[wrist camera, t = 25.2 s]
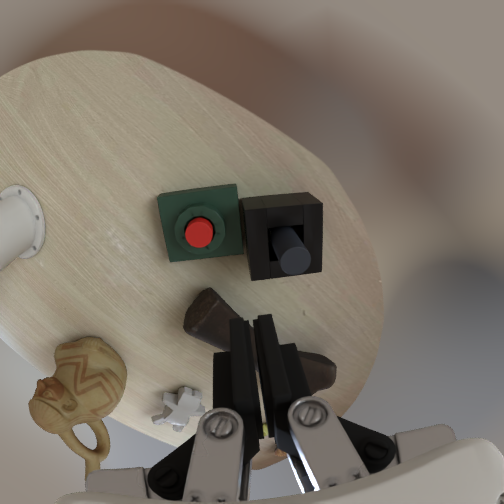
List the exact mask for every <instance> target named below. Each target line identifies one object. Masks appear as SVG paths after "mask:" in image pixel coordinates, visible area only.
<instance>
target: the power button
mask: <svg viewBox="0 0 504 504" xmlns="http://www.w3.org/2000/svg"><path fill="white" fill-rule="evenodd" d="M212 236H213V227H212V224H211V223H210V222H209V221H208V220H207V219H204V218H195V219H193V220H191V221H190V222H189V224H188V226H187V229H186V232H185V237H186V240H187V242H188V243H189V244H190V245H192V246H194V247H197V248H201V247H205V246H207V245H208V244H209V243H210V242H211V240H212Z"/></svg>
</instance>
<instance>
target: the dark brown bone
mask: <svg viewBox="0 0 504 504" xmlns="http://www.w3.org/2000/svg"><path fill="white" fill-rule="evenodd" d="M233 318H241V317H240V316H239V315H238V314H237V313H236V312H235V311H234V310H233V309H232V308H231V307H230V306H229V305H228V304H227V303H226V302H225V301H224V300H223V299H222V298H221V297H220V296H219V295H218V294H217V292H215V291H214V290H213V289H212V288H211V287H209V288H207V289H205V290H203V291H202V292H201V293H200V294H199V295H198V296H197V298H196V299H195V300H194V301H193V303H192V304H191V305H190V307H189V308H188V310H187V312H186V314H185V319H184V325H183V328H184V330H185V332H186V333H187V334H189V335H191V336H193V337H195V338H197V339H200V340H202V341H204V342H206V343H209V344H211V345H213V346H215V347H218V348H219V349H222V350H224V351H226V352H228V351H230V328H229V319H233ZM243 321H244V320H243ZM249 328H250V335H251V343H252V350H253V357H254V364H255V370H256V371H257V372H259V371H258V363H257V354H256V345H255V335H254V328H253V327H251V326H250V325H249ZM279 345H280V344H279ZM298 354H299V357H300V360H301V363H302V366H303V370H304V373H305V376H306V379H307V382H308V386H309V389H310V392H311V395H313V394H314V393H316V392H317V391H319V390H323V389H327V388H330V387H331V386H332V385H333V384H334V382H335V379H336V368H337V367H336V365H335V363H333V362H332V361H331V360H329V359H328V358H327V357H325V356H323V355H320V354H315V353H307V352H301V351H298Z"/></svg>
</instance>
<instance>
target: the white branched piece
mask: <svg viewBox="0 0 504 504" xmlns="http://www.w3.org/2000/svg"><path fill="white" fill-rule="evenodd" d="M201 399H202V392H199V391H196V390H194V391H192V389H191V388H188V387H184V388H182V387H181V388H179V390H178V394H172V393H166V392H164V393H163V396H162V402H164V403H165V404H166V406H165V408H164V411H163V414H160V415H156V416H153V417H151V418H152V421H153V424H155V425H160V424H163V423H165V422H166V421H167V422H169V423H171V424H173V430H175V431H176V432H181V431H182V429H183V428H184V426H186V425H187V424H188V422H189V418H190V416H203V415H204V414H205V406H203V405H201V404H200V402H201Z"/></svg>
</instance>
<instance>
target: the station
mask: <svg viewBox="0 0 504 504" xmlns="http://www.w3.org/2000/svg"><path fill="white" fill-rule="evenodd" d="M157 201H158V206H159V212H160V217H161V222H162V227H163V232H164V237H165V242H166V247H167V251H168V256H169V260H170V262H177V261H186V260H195V259H203V258H212V257H221V256H230V255H238V254H244V252H243V242H242V233H241V223H240V214H239V204H238V194H237V186H236V184H228V185H220V186H211V187H204V188H196V189H189V190H182V191H175V192H168V193H162V194H160V195H159V196H158V197H157ZM195 218H204V219H207V220H208V221H209V222H210V223H211V224H212V227H213V236H212V240H211V242H210V243H209V244H208V245H207V246H205V247H201V248H197V247H194V246H192V245H190V244H189V243H188V242H187V240H186V237H185V232H186V229H187V226H188V224H189V222H190V221H191V220H193V219H195Z"/></svg>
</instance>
